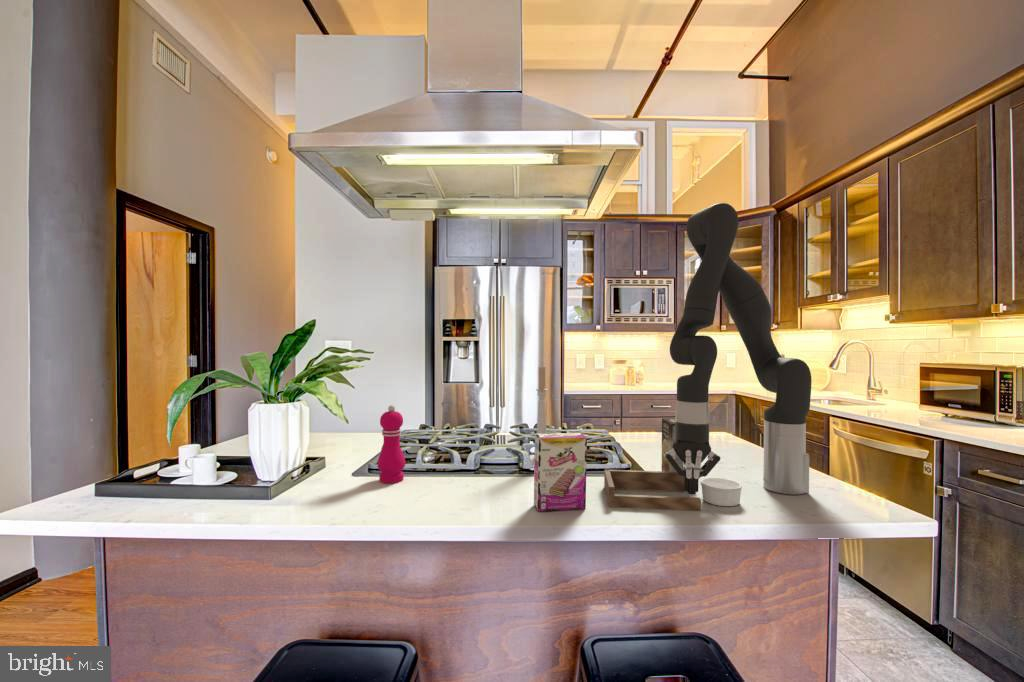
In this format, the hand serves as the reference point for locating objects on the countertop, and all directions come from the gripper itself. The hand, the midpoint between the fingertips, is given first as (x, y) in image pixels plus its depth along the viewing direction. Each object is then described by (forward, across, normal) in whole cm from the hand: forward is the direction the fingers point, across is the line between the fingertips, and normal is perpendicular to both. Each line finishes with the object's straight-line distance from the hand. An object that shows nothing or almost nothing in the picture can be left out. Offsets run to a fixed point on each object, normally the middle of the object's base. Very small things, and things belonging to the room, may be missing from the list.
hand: (691, 493), depth 114 cm
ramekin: (+2, -7, 0) cm, 7 cm away
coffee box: (+2, 0, -16) cm, 16 cm away
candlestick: (+2, +37, -25) cm, 44 cm away
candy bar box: (+2, +31, +9) cm, 32 cm away
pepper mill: (+2, +76, -6) cm, 76 cm away
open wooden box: (+2, +10, 0) cm, 10 cm away
